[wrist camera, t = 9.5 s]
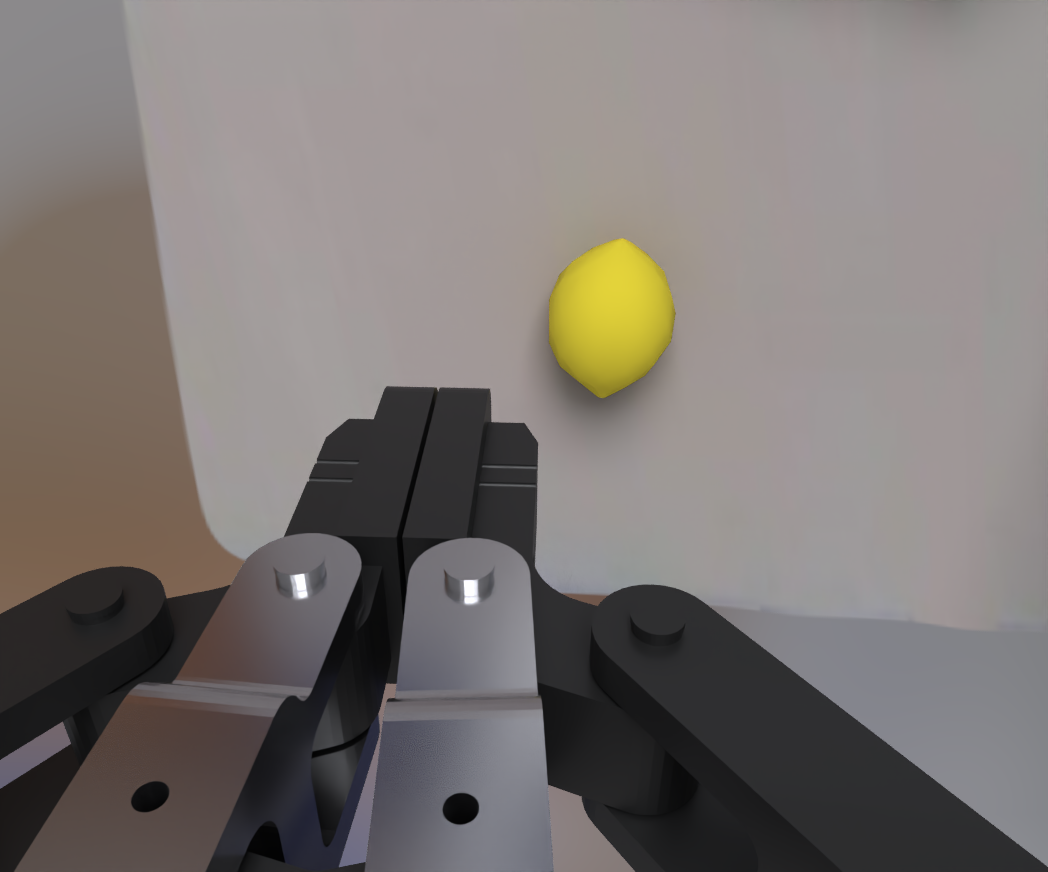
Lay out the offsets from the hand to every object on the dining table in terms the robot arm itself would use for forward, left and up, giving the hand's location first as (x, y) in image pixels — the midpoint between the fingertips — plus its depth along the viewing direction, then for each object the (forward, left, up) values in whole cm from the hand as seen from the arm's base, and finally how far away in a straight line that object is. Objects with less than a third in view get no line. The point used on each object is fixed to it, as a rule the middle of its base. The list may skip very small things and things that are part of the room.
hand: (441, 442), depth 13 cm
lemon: (-4, +9, -27) cm, 29 cm away
